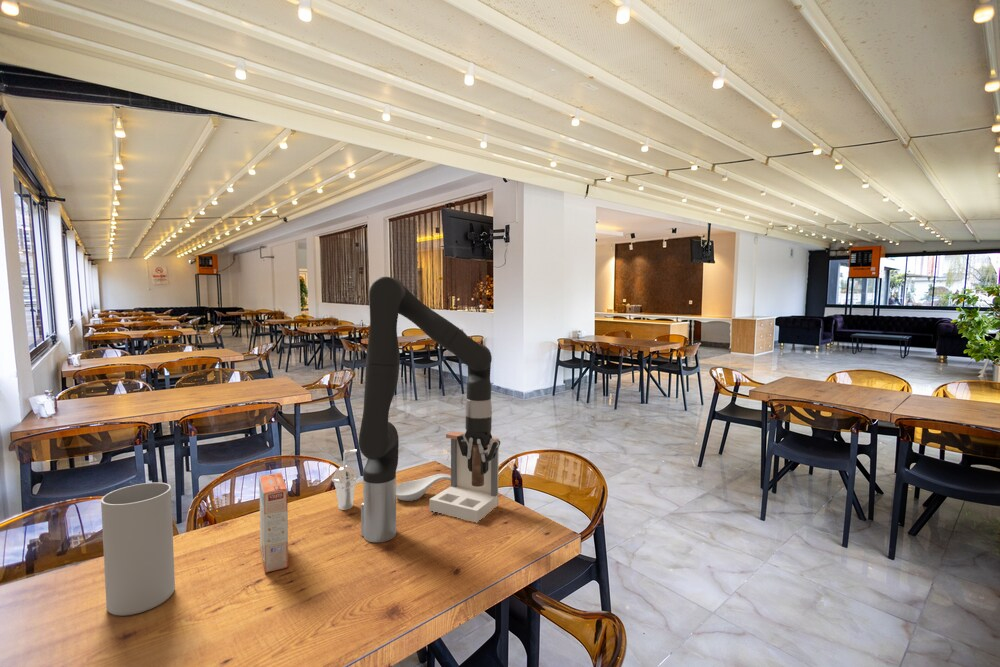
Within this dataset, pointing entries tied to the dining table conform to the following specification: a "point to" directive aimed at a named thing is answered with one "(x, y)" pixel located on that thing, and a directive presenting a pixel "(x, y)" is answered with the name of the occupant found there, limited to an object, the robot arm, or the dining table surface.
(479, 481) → the walnut dowel
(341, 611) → the dining table surface
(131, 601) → the cylinder vase
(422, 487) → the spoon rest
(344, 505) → the cup with straw
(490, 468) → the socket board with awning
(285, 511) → the cracker box
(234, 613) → the dining table surface
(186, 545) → the dining table surface
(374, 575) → the dining table surface
